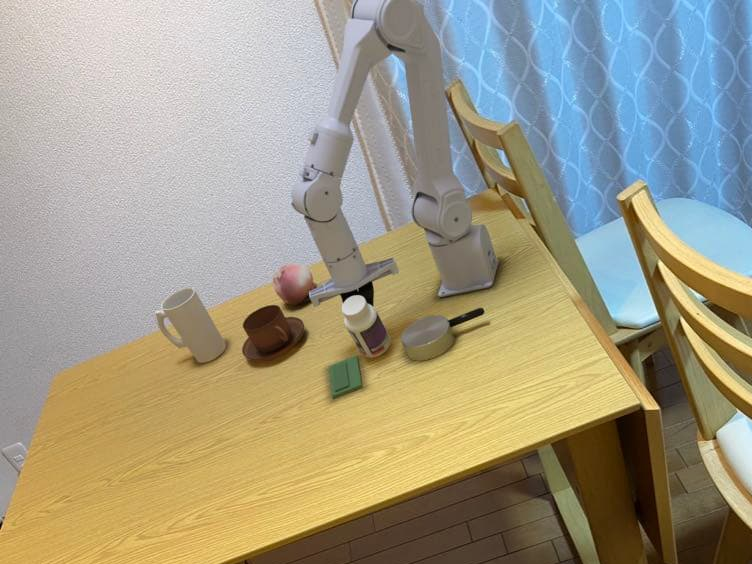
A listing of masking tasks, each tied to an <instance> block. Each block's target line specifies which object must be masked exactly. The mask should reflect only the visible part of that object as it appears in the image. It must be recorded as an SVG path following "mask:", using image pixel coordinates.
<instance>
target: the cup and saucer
mask: <svg viewBox="0 0 752 564" xmlns="http://www.w3.org/2000/svg"><path fill="white" fill-rule="evenodd" d="M242 329H243V330H244V332H245V334H246V335H247V338H246V340H245V341H244V343H243V345H242V349H241V352H242V355H243V357H245V358H246V359H247V360H249V361H254V362H265V361H266V362H267V361H269V360H273V359H277V358H279V357H280V356H283V355H284V354H286V353H287V352H289V351H290V350H291V349H293V348H294V347H295V346H296V345H297V344H298V343H299V342H300V340H301V338H302V336H303V334H304V331H305V324H304V322H303V320H302V319H300V318H299V317H296V316H285V315H284V312H283V310H282V308H281V306H280V305H276V304H268V305H265V306H263V307H259V308H258V309H256V310H254V311H253V312H252V313H250V314H249V315H247V317H245V318H244V320H243V323H242Z"/></svg>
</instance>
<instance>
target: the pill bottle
mask: <svg viewBox="0 0 752 564" xmlns="http://www.w3.org/2000/svg"><path fill="white" fill-rule="evenodd" d="M341 312H342V314H343V316H344V318H343V323H344V326H345V328H346V330H347V332H348V333H349V335H350V337H351V339H352V340H353V342H354V344H355V345H356V347H357V348H358V351H359V352H360V353H361V355H362V356H364V357H365V358H376V357H380V356H382V355H383V354H384V353H385V352H387V350H388V349H389V348H390V345H391V337H390V334H389V332H388V330H387V328H386V326H385V325H384V323H383V321H382V319H381V317H380V316H379V313H378V311H377V310H376V308H375V307H373V306H372V305H370V304H367V302H366V300H365V298H364V297H362V296H360V295H354V296H351V297H349V298H348V299H347V300H345V302H344V303H343V302H342V305H341Z"/></svg>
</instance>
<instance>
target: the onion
mask: <svg viewBox="0 0 752 564" xmlns="http://www.w3.org/2000/svg"><path fill="white" fill-rule="evenodd" d="M272 276H273V277H272V283H273V289H274V291H275V293H276V295H277V296H278V297H279V298H280V300H281V301H283V302H284V303H285V304H287V305H290V306H291V305H292V306H301V305H304V303H306V302H309V301H311V299H310V297H309V291H311V290H314V289H316V288H317V287H318V283H315V282H314V277H313V273H312V271H311V270H310V269H309V268H308V267H307V266H306V265H303V264H299V263H290V264H285V265H282V266H280V267H279V268H278V269H277V270H276V271H275V273H274V274H273V275H272Z"/></svg>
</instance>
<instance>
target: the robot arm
mask: <svg viewBox="0 0 752 564" xmlns="http://www.w3.org/2000/svg"><path fill="white" fill-rule="evenodd" d="M424 7H425V6H424V4H423V3H422V2H420V1H419V0H353V2H352V4H351V8H350V15H349V16H350V17H349V18H348V19H347V21H346V24H345V25H344V33H343V34H344V35H343V47H342V50H341V51H342V52H341V55H340V60H339V64H338V68H337V72H336V76H335V80H334V84H333V88H332V93H331V97H330V101H329V106H328V109H327V114H326V116H325V117H324V118H323V119H321V120H319V121H318V122H316V123H315V125H314V129H313V130H309V132H308V136H307V140H308V141H309V142H310V143H309V145H308V150H307V153H306V157H305V160H304V163H303V164H304V165H303V167H300V169H299V172H298V176H299V177H298V179H296V180H295V181H294V183H293V185H292V188H291V193H290V195H291V198H292V200H291V202H290V205H291V207H292V208H293V209H294V210H295V211H296V212H297V213H299V214H301V215H303V218H304V221H305V223H306V225H307V227H308V229H309V231H310V235H311V237H312V240H313V242H314V243H315V245H316V248H317V250H318V252H319V254H320V257H321V258H322V260H323V264H324V265H325V267H326V269H327V271H328V274H329V275H330V277H331V279H329V280H327V281H326V282H324V283H322V284H321V285H320V286H317V287H316V289H314V290H311V291H309V297H310V302H311V303H312V305H313V308H316V307H319V306H320V305H321V303H323V302H326V301H329V300H331V299H334V298H335V297H338V296H340V298H341V301H342V304H343V303H344V302H345V300H347V299H348V298H349V297H351V296H354V295H360V296H362V297H364V298H365V300H366V302H367V304H370V305H372V306H373V307H374V301H375V300H374V298H375V289H374V282H375V281H377V280H380V279H382V278H385V277H387V276H389V275H392V276H394V275H397V274H399V273H400V270H399V267H398V265H397V262H396V260H395V257H394V256H392V257H389V258H387V259H383V260H378V261H374V262H371V263H366V262H365V260H364V257H363V255H362V252H361V250H360V248H359V246H358V244H357V242H356V241H357V240H356V239H355V236H354V234H353V232H352V230H351V227H350V225H349V223H348V221H347V218H346V217H345V214H344V212H343V209H342V205H343V199H344V197H343V193H342V190H341V184H342V181H343V180H342V179H343V177H344V173H345V170H346V168H347V167H346V166H347V164H348V160H349V156H350V154H351V150H352V147H353V143H354V140H355V137H354V135H353V132H352V129H351V123H352V120H353V117H354V114H355V111H356V109H357V106H358V104H359V100H360V98H361V95H362V92H363V90H364V87H365V84H366V81H367V79H368V76H369V73H370V70H372V68H373V67H375V66H376V65H378V64H380V63H381V62H383V61H384V60H385V59H387V58H389V57H390V56H392V55H393V56H395V57H396V58H397V59H399V60H400V61H401V62H402V63H403V64H404V71H405V72H404V73H405V78H406V87H407V96H408V102H409V104H408V105H409V111H410V119H411V127H412V134H413V143H414V151H415V158H416V167H417V176H416V178H415V180H414V182H413V184H412V190H413V197H412V201H411V206H410V215H411V218H412V221H413V222H414V223H415V224H416V225H417V226H418V227H420V228H422V229H423V230H424V233H425V239H426V241H427V242H426V243H427V244H428V247H429V250H430V254H431V255H432V258H433V260H434V263H435V266H436V269H437V271H438V274H439V277H440V280H441V284H440V287H439V290H438V293H437V296H438V298H443V297H449V296H453V295H459V294H464V293H468V292H474V291H478V290H483V289H488V288H491V287H492V286H493V284H494V281H495V277H496V273H497V270H498V266H499V263H500V260H499V259H498V258H497V255H496V252H495V249H494V246H493V243H492V240H491V237H490V236H491V235H490V233H489V230H488V229H487V226H486V225H485V224H473V223H472V222H473V211H472V208H471V207H472V206H471V205H470V203H469V202H468V200H467V197H466V192H465V186H464V185H463V183H462V182H461V181H460V179H459V178H458V176H457V175H456V174H455V172H454V167H453V157H452V147H451V146H452V145H451V139H450V138H451V137H450V128H449V126H450V125H449V117H448V107H447V99H446V87H445V78H444V77H445V76H444V68H443V58H442V49H441V48H442V47H441V42H440V40H439V37H438V36H437V34H436V32H435V30H434V28H433V27H432V25H431V24H430V21H429V20H428V18H427V17H426V15H425V10H424V9H425V8H424ZM374 308H375V307H374Z"/></svg>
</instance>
